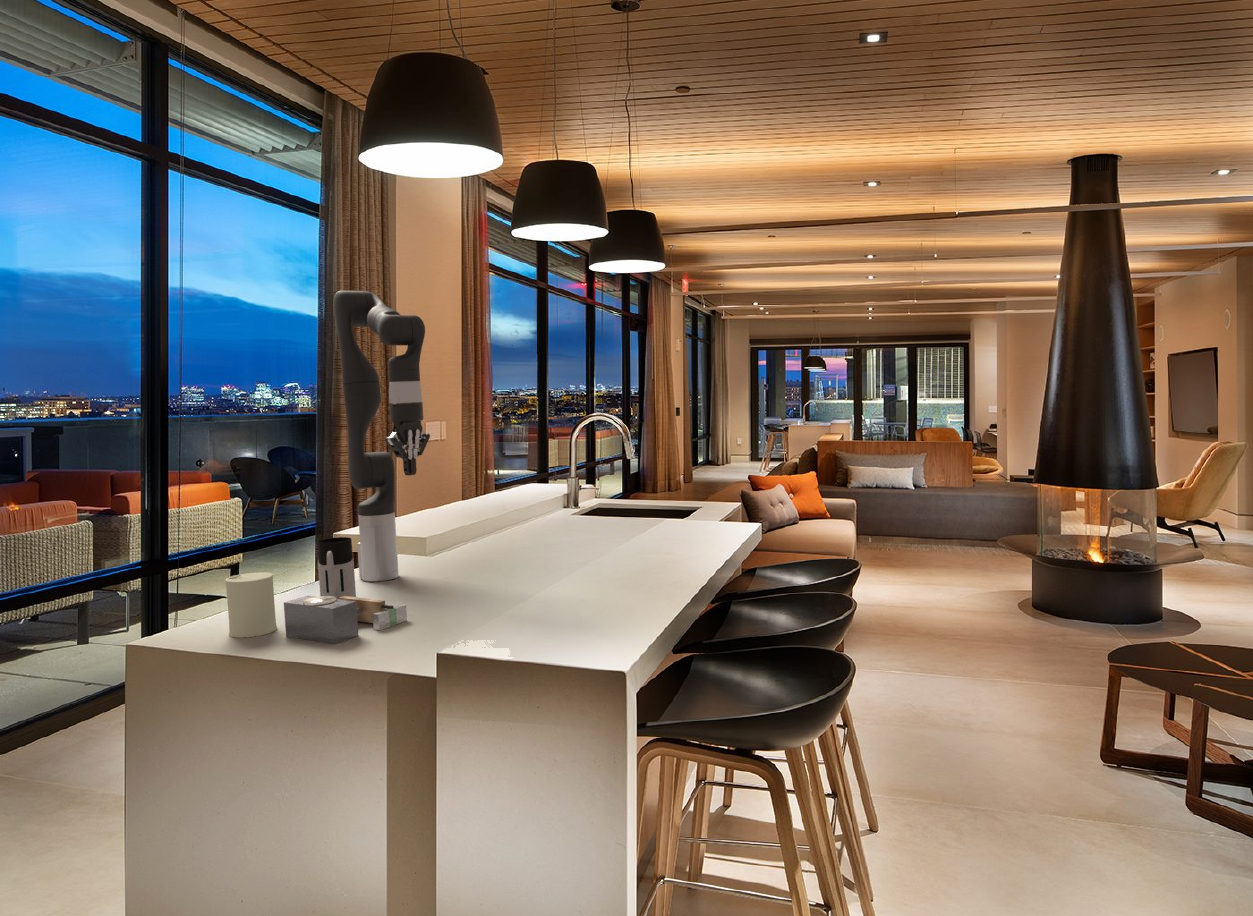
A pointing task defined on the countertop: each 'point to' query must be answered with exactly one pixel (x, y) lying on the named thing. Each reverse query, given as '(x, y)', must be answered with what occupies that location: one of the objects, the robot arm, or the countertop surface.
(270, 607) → the can
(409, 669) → the countertop surface
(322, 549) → the black and white mug
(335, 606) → the set of grey blocks
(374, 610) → the tan wooden bar
